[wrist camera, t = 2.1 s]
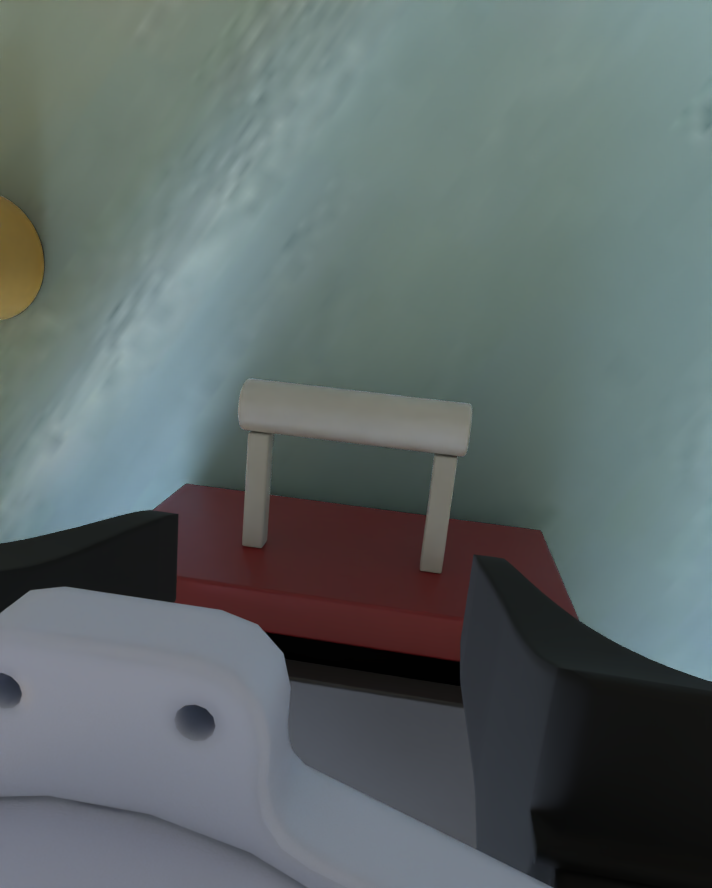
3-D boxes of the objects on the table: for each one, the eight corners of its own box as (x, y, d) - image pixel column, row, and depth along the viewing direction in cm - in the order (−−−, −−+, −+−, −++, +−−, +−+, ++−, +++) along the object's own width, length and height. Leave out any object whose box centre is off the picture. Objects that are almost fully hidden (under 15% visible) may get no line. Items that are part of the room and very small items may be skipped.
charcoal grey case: (177, 516, 24) (41, 639, 16) (547, 567, 23) (610, 728, 15) (169, 833, 28) (55, 1067, 19) (486, 891, 26) (510, 1167, 18)
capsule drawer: (189, 349, 22) (81, 378, 15) (566, 391, 20) (629, 443, 14) (176, 798, 26) (88, 970, 20) (483, 853, 25) (500, 1055, 18)
